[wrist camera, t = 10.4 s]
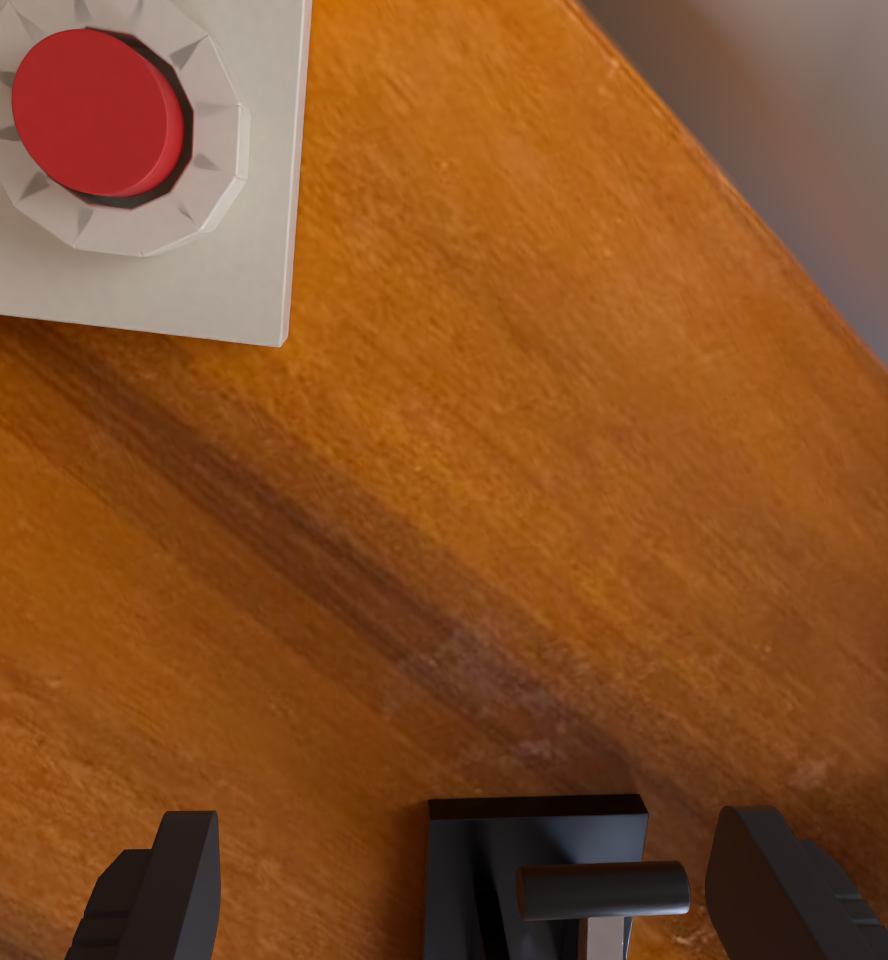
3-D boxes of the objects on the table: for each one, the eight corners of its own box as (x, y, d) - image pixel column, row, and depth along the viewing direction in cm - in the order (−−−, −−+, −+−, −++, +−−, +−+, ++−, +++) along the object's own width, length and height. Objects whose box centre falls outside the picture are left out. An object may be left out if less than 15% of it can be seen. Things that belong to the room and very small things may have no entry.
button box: (-16, -104, 21) (-99, -175, 17) (315, -43, 22) (305, -98, 19) (-1, 304, 24) (-69, 317, 21) (288, 338, 26) (274, 357, 22)
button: (38, 33, 19) (7, 16, 18) (187, 58, 20) (170, 42, 18) (41, 187, 20) (12, 183, 19) (182, 206, 21) (167, 204, 19)
